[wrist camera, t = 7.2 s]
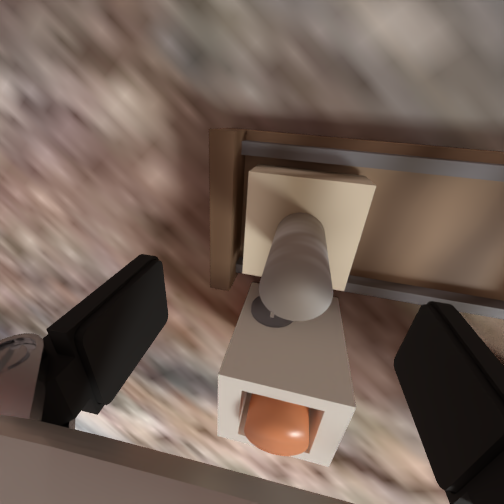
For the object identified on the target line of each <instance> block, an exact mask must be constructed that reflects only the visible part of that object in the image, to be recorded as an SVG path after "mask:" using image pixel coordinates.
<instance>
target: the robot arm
mask: <svg viewBox="0 0 504 504" xmlns="http://www.w3.org/2000/svg"><path fill="white" fill-rule="evenodd" d="M167 319H168V308H167V300H166V291H165V283H164V274H163V265H162V262H161V261H159V259H158V258H157V257H156V256H150V255H144V254H141V255H139V256H138V257H136V258H135V259H134V260H133V261H131V262H130V263H129V264H128V265H126V266H125V267H124V268H123V269H121V270H120V271H119V272H118V273H116V274H115V275H114V276H113V277H111V278H110V279H109V280H108V281H106V282H105V283H104V284H103V285H101V286H100V287H99V288H97V289H96V290H95V291H94V292H92V293H91V294H90V295H89V296H87V297H86V298H85V299H84V300H82V301H81V302H80V303H79V304H77V305H76V306H75V307H74V308H72V309H71V310H70V311H69V312H67V313H66V314H65V315H64V316H62V317H61V318H60V319H59V320H57V321H56V322H55V323H54V324H52V325H51V326H50V327H49V328H47V332H48V335H47V336H46V337H44V338H43V339H42V338H41V337H40V336H39V335H36V334H33V333H24V334H18V335H13V336H10V337H7V338H4V339H2V340H0V504H353V503H350V502H346V501H342V500H339V499H335V498H332V497H328V496H324V495H320V494H317V493H313V492H309V491H306V490H302V489H298V488H295V487H291V486H287V485H283V484H280V483H276V482H272V481H269V480H265V479H261V478H258V477H254V476H250V475H246V474H243V473H239V472H235V471H232V470H228V469H224V468H220V467H217V466H213V465H209V464H205V463H202V462H198V461H194V460H191V459H187V458H183V457H179V456H175V455H172V454H168V453H164V452H160V451H156V450H153V449H149V448H145V447H141V446H137V445H134V444H130V443H126V442H122V441H118V440H115V439H111V438H107V437H103V436H99V435H95V434H91V433H87V432H83V431H79V430H75V418H76V417H77V415H78V414H79V413H80V411H81V410H82V411H85V412H89V413H93V414H97V415H98V414H99V412H100V411H101V409H102V408H103V406H104V405H107V404H109V403H110V402H111V401H112V400H113V399H114V397H115V396H116V394H117V393H118V392H119V390H120V389H121V387H122V386H123V384H124V383H125V381H126V380H127V379H128V377H129V376H130V374H131V373H132V371H133V370H134V368H135V367H136V366H137V364H138V363H139V361H140V360H141V358H142V357H143V355H144V354H145V353H146V351H147V350H148V348H149V347H150V345H151V344H152V342H153V341H154V340H155V338H156V337H157V335H158V334H159V332H160V331H161V329H162V328H163V327H164V325H165V324H166V322H167ZM394 368H395V371H396V374H397V377H398V379H399V382H400V385H401V387H402V390H403V393H404V395H405V398H406V401H407V403H408V406H409V409H410V411H411V414H412V417H413V419H414V422H415V425H416V428H417V430H418V433H419V436H420V438H421V441H422V444H423V446H424V449H425V452H426V454H427V457H428V460H429V462H430V465H431V468H432V470H433V473H434V476H435V478H436V481H437V483H438V485H439V486H440V487H441V488H442V489H443V490H445V492H446V495H447V497H448V500H449V502H450V504H504V366H503V365H502V364H501V363H500V361H499V360H498V359H497V358H496V357H495V355H494V354H493V353H492V352H491V350H490V349H489V348H488V347H487V346H486V344H485V343H484V342H483V341H482V340H481V338H480V337H479V336H478V335H477V334H476V332H475V331H474V330H473V329H472V328H471V326H470V325H469V324H468V323H467V322H466V320H465V319H464V318H463V317H462V315H461V314H460V313H459V312H458V311H457V309H456V308H455V307H454V306H453V305H451V304H447V303H441V302H435V301H429V302H428V303H427V304H423V305H422V306H421V307H420V309H419V311H418V313H417V315H416V317H415V319H414V321H413V323H412V325H411V327H410V329H409V331H408V333H407V335H406V337H405V339H404V341H403V343H402V345H401V346H400V348H399V350H398V352H397V354H396V356H395V359H394Z"/></svg>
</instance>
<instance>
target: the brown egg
mask: <svg viewBox="0 0 504 504" xmlns="http://www.w3.org/2000/svg"><path fill="white" fill-rule="evenodd" d="M244 433H245V436H246V437H247V439H248V440H249V441H250V442H251V443H252V444H253V445H255V446H256V447H258V448H259V449H261V450H263V451H266V452H268V453H271V454H275V455H281V456H294V455H298V454H301V453H303V452H304V451H306V450H307V448H308V446H309V407H306V406H302V405H298V404H294V403H290V402H286V401H282V400H278V399H274V398H269V397H265V396H261V395H257V394H253V393H252V394H251V399H250V404H249V408H248V413H247V418H246V422H245V427H244Z"/></svg>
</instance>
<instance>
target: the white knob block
mask: <svg viewBox="0 0 504 504" xmlns="http://www.w3.org/2000/svg"><path fill="white" fill-rule="evenodd" d="M252 393H253V394H257V395H261V396H265V397H269V398H274V399H278V400H282V401H286V402H290V403H294V404H298V405H302V406H306V407H309V446H308V448H307V450H306V451H304V452H303V453H301V454H298V455H294V456H291V457H295V458H298V459H302V460H305V461H309V462H312V463H316V464H320V465H323V466H327V467H329V465H330V463H331V461H332V459H333V457H334V454H335V452H336V450H337V448H338V446H339V444H340V441H341V439H342V437H343V435H344V433H345V431H346V429H347V426H348V424H349V422H350V420H351V418H352V416H353V413H354V411H355V409H356V404H355V398H354V392H353V385H352V379H351V373H350V367H349V361H348V355H347V349H346V343H345V337H344V330H343V324H342V318H341V312H340V306H339V300H338V298H337V297H333V298H332V302H331V304H330V306H329V307H328V309H327V310H326V311H325V312H324V313H323V314H321V315H320V316H318V317H316V318H314V319H311V320H306V321H291V320H286V319H283V318H280V317H278V316H276V315H275V314H273V313H272V312H271V311H269V310H268V309H267V308H266V306H265V305H264V304H263V302H262V300H261V298H260V295H259V283H254V282H252V284H251V286H250V289H249V292H248V295H247V297H246V300H245V303H244V305H243V308H242V311H241V314H240V316H239V319H238V322H237V324H236V327H235V330H234V333H233V335H232V338H231V341H230V343H229V346H228V349H227V352H226V354H225V357H224V360H223V362H222V365H221V368H220V371H219V373H218V433H217V436H220V437H223V438H227V439H230V440H234V441H238V442H241V443H245V444H248V445H252V446H255V445H253V444H252V443H251V442H250V441H249V440H248V439H247V437H246V436H245V433H244V427H245V422H246V418H247V413H248V408H249V404H250V399H251V394H252ZM255 447H256V446H255Z"/></svg>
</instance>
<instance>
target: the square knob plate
mask: <svg viewBox="0 0 504 504" xmlns="http://www.w3.org/2000/svg"><path fill="white" fill-rule="evenodd" d="M375 189H376V185H375V184H374V183H373V182H372V181H371V180H370V179H368V178H367V177H366V176H363V175H354V174H345V173H335V172H326V171H317V170H308V169H298V168H289V167H280V166H271V165H261V164H258V165H256V166H255V167H254V168H253V169H251V170H250V171H249V175H248V191H247V207H246V223H245V238H244V254H243V270H242V273H243V274H249V275H255V276H260V277H261V280H260V283H259V295H260V298H261V300H262V302H263V304H264V305H265V306H266V308H267V309H268V310H269V311H271V312H272V313H273V314H275V315H276V316H278V317H280V318H283V319H286V320H291V321H306V320H311V319H314V318H316V317H318V316H320V315H321V314H323V313H324V312H325V311H326V310H327V309H328V307H329V306H330V304H331V302H332V298H333V289H334V290H340V291H344V290H345V287H346V283H347V280H348V277H349V274H350V270H351V267H352V264H353V260H354V257H355V254H356V251H357V247H358V244H359V241H360V238H361V234H362V231H363V228H364V225H365V221H366V218H367V215H368V212H369V208H370V205H371V202H372V199H373V195H374V192H375Z"/></svg>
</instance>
